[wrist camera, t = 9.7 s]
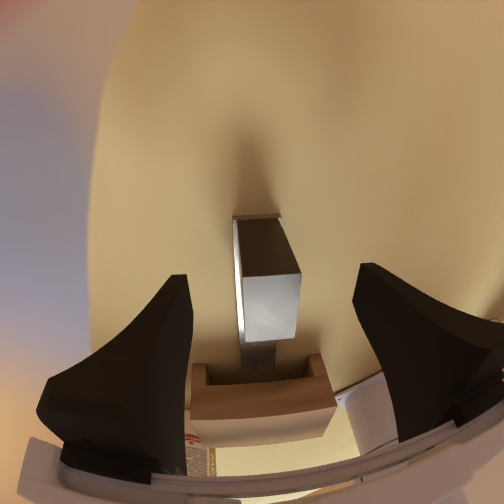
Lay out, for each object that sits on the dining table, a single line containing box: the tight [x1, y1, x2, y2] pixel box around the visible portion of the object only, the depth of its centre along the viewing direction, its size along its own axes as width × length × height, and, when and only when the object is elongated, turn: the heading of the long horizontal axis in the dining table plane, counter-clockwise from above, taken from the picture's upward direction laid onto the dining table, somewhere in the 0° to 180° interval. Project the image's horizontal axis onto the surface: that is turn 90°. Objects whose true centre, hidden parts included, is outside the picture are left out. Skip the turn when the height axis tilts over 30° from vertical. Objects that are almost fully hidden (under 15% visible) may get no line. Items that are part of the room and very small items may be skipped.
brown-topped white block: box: [232, 214, 302, 372], centre depth 18 cm, size 15×3×7 cm, turn 1°
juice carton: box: [184, 410, 217, 477], centre depth 22 cm, size 8×9×19 cm
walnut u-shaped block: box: [190, 354, 337, 448], centre depth 24 cm, size 8×12×6 cm
